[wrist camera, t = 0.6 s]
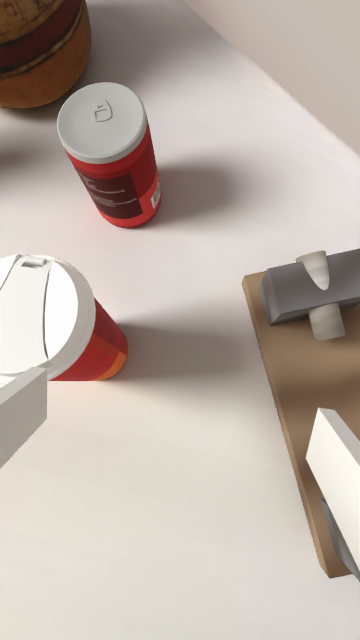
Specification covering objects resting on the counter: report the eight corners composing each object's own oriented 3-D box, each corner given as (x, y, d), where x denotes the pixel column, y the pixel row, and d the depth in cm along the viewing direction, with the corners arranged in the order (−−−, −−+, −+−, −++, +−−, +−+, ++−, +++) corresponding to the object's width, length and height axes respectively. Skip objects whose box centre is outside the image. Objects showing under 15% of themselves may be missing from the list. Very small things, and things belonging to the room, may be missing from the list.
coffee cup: (74, 306, 33) (-24, 235, 19) (147, 320, 32) (103, 256, 18) (50, 384, 31) (-79, 371, 17) (128, 401, 31) (61, 402, 16)
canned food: (146, 161, 37) (123, 67, 27) (174, 213, 35) (162, 133, 25) (88, 188, 37) (42, 103, 26) (113, 241, 35) (74, 172, 24)
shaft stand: (437, 541, 26) (523, 592, 19) (320, 565, 26) (363, 625, 19) (334, 262, 33) (370, 225, 26) (241, 283, 33) (252, 251, 26)
